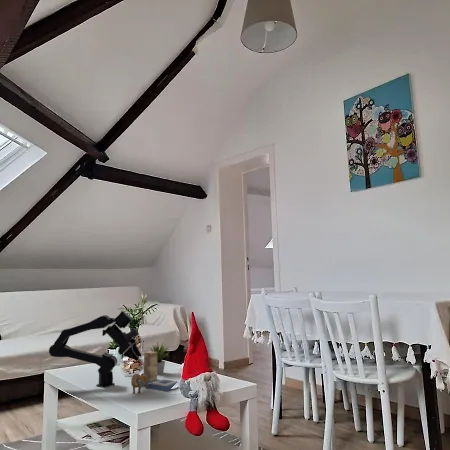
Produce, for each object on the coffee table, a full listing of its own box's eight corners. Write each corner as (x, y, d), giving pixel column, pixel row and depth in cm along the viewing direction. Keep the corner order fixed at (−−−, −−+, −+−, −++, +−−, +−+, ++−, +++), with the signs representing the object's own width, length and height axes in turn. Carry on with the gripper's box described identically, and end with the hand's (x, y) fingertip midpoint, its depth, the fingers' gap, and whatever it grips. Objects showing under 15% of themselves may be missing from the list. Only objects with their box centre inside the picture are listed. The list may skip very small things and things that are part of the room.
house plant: (170, 376, 210) (170, 344, 213) (143, 377, 210) (144, 344, 212) (173, 370, 224) (173, 340, 227) (148, 371, 224) (149, 341, 227)
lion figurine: (140, 396, 174) (140, 374, 175) (128, 396, 175) (129, 374, 176) (150, 387, 189) (150, 367, 190) (139, 387, 189) (139, 367, 190)
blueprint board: (137, 386, 192) (137, 381, 192) (149, 382, 199) (149, 377, 199) (166, 391, 181) (166, 386, 182) (179, 387, 188) (179, 382, 189)
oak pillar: (143, 380, 195) (144, 352, 197) (150, 378, 198) (150, 351, 200) (150, 381, 192) (150, 353, 194) (156, 379, 196) (157, 351, 198)
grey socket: (152, 384, 187) (152, 382, 187) (164, 380, 194) (164, 378, 194) (165, 386, 182) (165, 384, 183) (177, 382, 189) (177, 380, 189)
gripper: (125, 325, 189) (149, 348, 188) (132, 321, 208) (154, 343, 207) (108, 342, 188) (131, 366, 187) (116, 337, 206) (138, 359, 205)
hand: (139, 358), depth 196 cm, fingers open, 9 cm apart
